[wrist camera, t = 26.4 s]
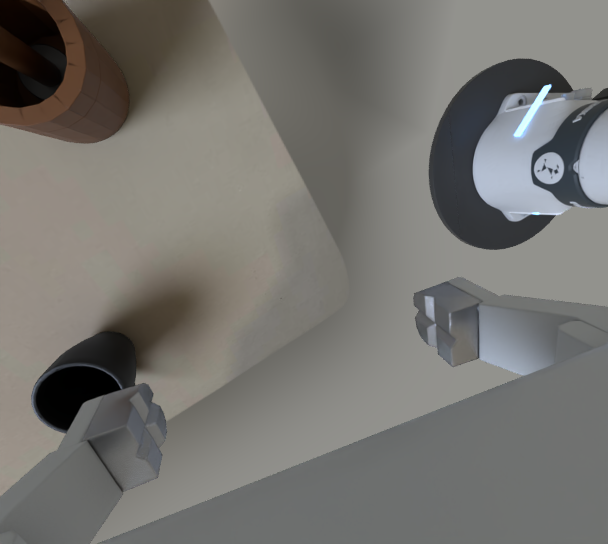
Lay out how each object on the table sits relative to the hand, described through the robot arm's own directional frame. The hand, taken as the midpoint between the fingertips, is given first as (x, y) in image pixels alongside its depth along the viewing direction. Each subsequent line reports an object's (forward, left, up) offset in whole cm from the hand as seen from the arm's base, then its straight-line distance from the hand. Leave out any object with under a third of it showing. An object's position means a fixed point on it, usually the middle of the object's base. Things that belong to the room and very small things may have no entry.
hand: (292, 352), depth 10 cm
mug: (+19, +13, -33) cm, 40 cm away
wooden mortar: (+11, -17, -33) cm, 38 cm away
